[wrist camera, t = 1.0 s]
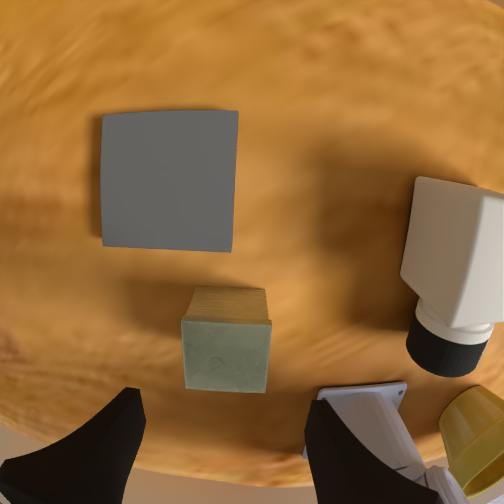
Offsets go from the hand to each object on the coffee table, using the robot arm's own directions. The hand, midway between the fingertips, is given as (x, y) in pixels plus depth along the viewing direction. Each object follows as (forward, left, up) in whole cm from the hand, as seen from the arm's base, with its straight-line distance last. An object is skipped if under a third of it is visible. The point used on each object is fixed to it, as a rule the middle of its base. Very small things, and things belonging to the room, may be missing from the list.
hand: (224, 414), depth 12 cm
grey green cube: (0, 0, -10) cm, 10 cm away
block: (+9, +4, -10) cm, 14 cm away
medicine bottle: (+10, -15, -6) cm, 19 cm away
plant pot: (-12, -25, -10) cm, 29 cm away
